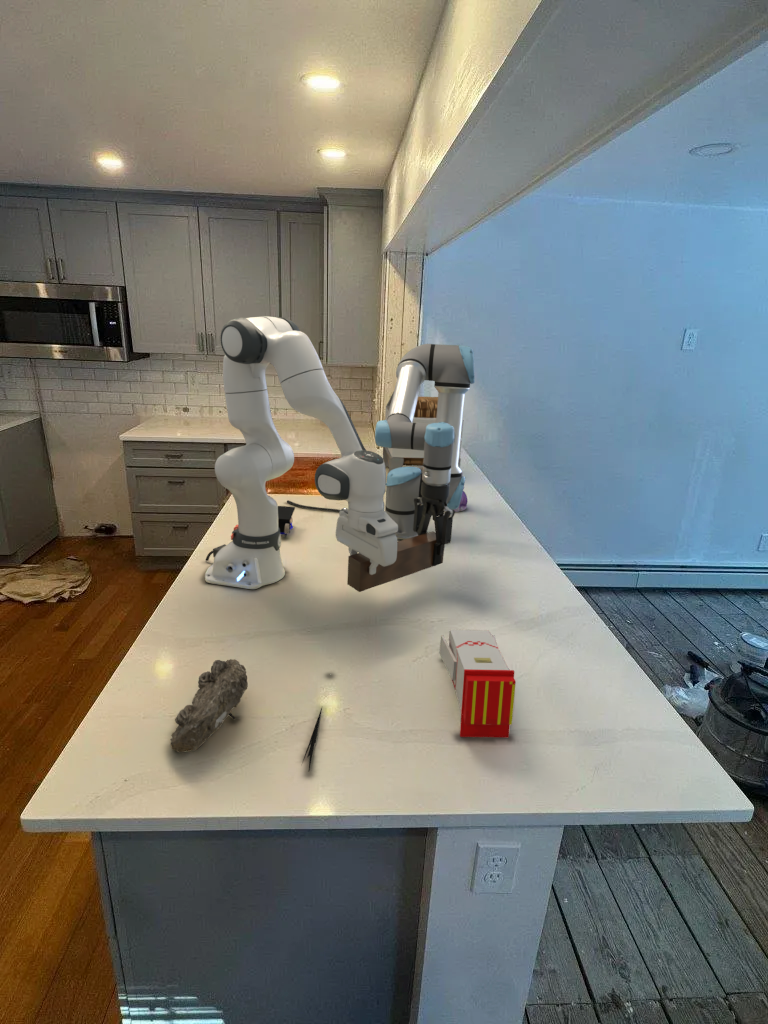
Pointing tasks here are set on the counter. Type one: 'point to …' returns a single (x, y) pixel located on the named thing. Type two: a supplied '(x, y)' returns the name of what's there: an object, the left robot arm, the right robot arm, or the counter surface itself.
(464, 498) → the figurine
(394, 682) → the counter surface
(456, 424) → the right robot arm
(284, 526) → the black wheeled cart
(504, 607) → the counter surface
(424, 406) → the transformer
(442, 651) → the toy
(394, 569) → the walnut beam
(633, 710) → the counter surface
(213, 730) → the fossil
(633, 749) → the counter surface
